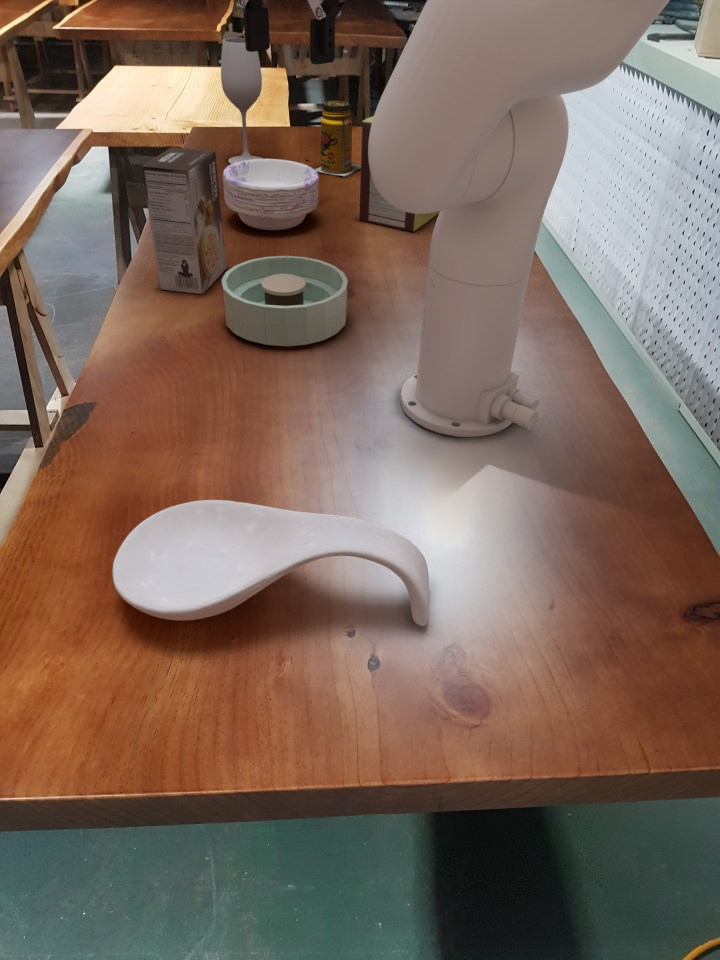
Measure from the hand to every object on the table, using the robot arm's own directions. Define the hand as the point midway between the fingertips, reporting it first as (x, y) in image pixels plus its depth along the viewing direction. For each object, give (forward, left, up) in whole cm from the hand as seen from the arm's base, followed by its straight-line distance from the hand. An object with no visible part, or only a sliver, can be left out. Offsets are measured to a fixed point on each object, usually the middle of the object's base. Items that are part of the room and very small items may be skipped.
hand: (289, 56), depth 78 cm
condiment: (+35, -49, -28) cm, 66 cm away
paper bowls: (+23, -19, -28) cm, 41 cm away
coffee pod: (-3, +5, -28) cm, 28 cm away
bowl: (-4, +5, -28) cm, 29 cm away
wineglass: (+51, -39, -28) cm, 70 cm away
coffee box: (+14, +5, -28) cm, 32 cm away
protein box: (+10, -38, -28) cm, 48 cm away
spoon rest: (-35, +38, -28) cm, 59 cm away
